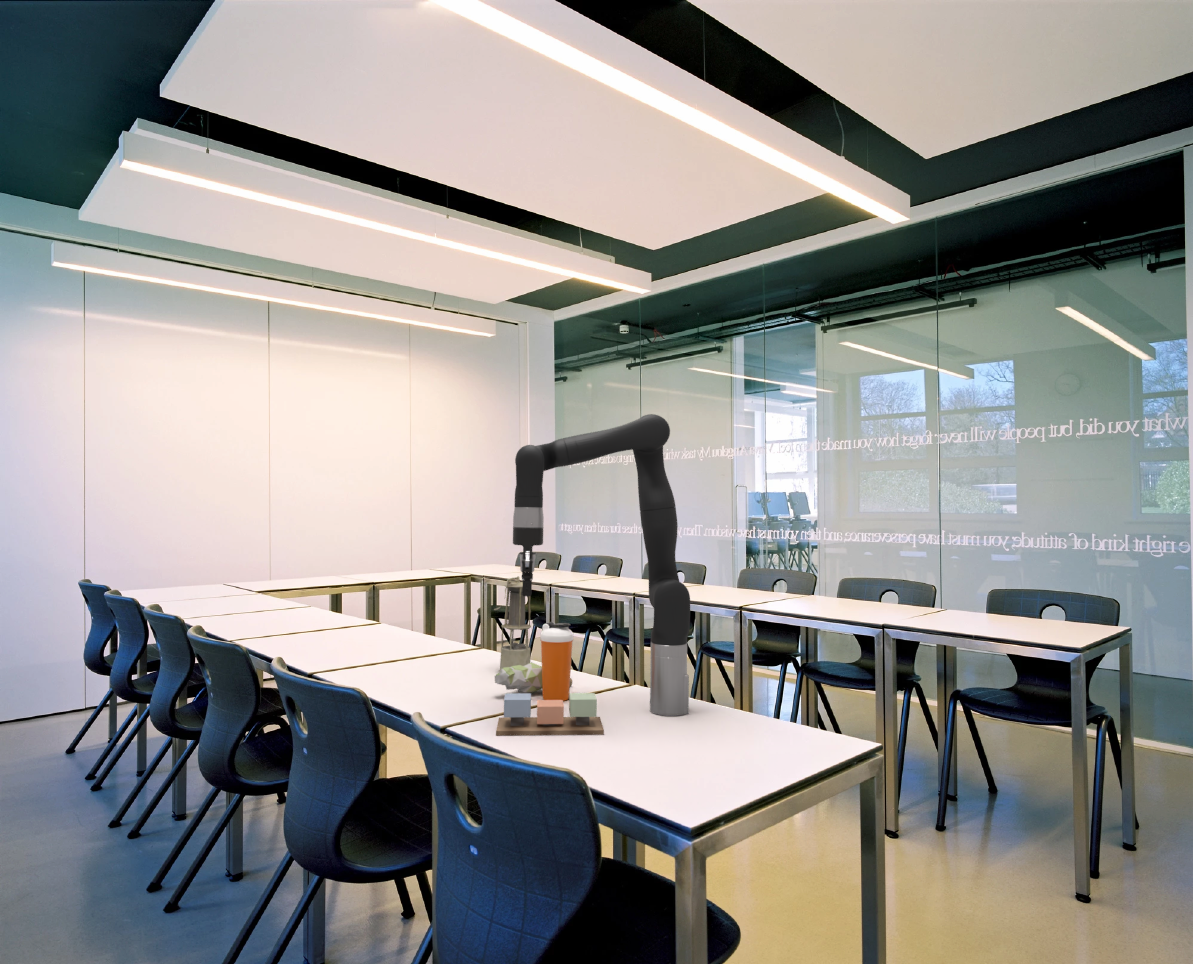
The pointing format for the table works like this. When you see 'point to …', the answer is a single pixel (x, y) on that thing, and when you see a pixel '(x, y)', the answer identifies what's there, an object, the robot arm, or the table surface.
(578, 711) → the button sage
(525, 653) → the lamp
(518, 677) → the decorative object
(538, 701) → the button terracotta
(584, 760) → the table surface
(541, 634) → the shaker bottle
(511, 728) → the board
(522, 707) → the button slate
